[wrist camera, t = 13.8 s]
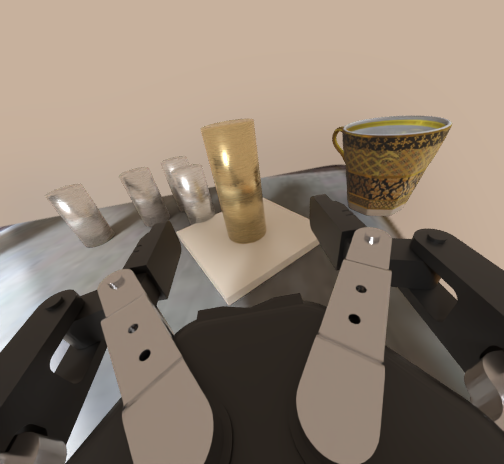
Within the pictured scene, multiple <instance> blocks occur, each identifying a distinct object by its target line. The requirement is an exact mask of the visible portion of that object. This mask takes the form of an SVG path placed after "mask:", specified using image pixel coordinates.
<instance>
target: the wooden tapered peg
mask: <svg viewBox="0 0 504 464" xmlns="http://www.w3.org/2000/svg"><path fill="white" fill-rule="evenodd" d="M201 132H202V136H203V140H204V144H205V148H206V151H207V156H208V159H209V163H210V167H211V171H212V175H213V179H214V183H215V186H216V190H217V194H218V198H219V202H220V206H221V210H222V213H223V217H224V221H225V225H226V229H227V233H228V236H229V239H230V240H231V241H233V242H235V243H239V244H248V243H253V242H255V241H258V240H259V239H261V238H262V237H263V236H264V235H265V233H266V222H265V213H264V205H263V196H262V188H261V179H260V171H259V162H258V155H257V145H256V138H255V128H254V121H253V119H238V120H230V121H224V122H219V123H214V124H211V125H207V126H204V127H202V128H201Z"/></svg>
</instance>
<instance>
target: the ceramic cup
mask: <svg viewBox="0 0 504 464" xmlns="http://www.w3.org/2000/svg"><path fill="white" fill-rule="evenodd" d="M451 126H452V122H451V121H449V120H447V119H444V118H439V117H432V116H431V117H430V116H391V117H381V118H373V119H366V120H361V121H357V122H353V123H350V124H348V125H346V126H345V127H339V128H337V129H336V130H335V131H334V133H333V137H332V139H333V140H332V141H333V144H334V146H335V148H336V149H337V151H338V152H339V153H340V154H341V156H342V157H343V160H344V162H345V164H346V177H347V200H348V205H349V208H351V209H353V210H355V211H357V212H360V213H362V214H364V215H368V216H391V215H393V214H395V213H396V212H398V211H400V210H401V209H402V208H403V207H404V205H405V204H406V202H407V201H408V199H409V197H410V195H411V193H412V192H413V190H414V189H415V187H416V185H417V184H418V182H419V180H420V178H421V177H422V175H423V173H424V171H425V170H426V168H427V167H428V165H429V164H430V162H431V161H432V159H433V158H434V156H435V155H436V153H437V151H438V150H439V148H440V146H441V145H442V143H443V141H444V139H445V138H446V136H447V134H448V132H449V130H450V128H451ZM339 131H341V132H342V133H343V150H344V151H343V150H342V149H341V148H340V147H339V145H338V143H337V141H336V136H337V134H338V132H339Z"/></svg>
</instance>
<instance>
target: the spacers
mask: <svg viewBox="0 0 504 464" xmlns="http://www.w3.org/2000/svg"><path fill="white" fill-rule="evenodd" d="M161 166H162V168H163V171H164V173H165V176H166V178H167V181H168V183H169V186H170V188H171V191H172V193H173V196H174V198H175V201H176V203H177V206H178V208H179V210H180V211H181V212H186V214H187V217H188V219H189V222H190V225H193V224H195V223H202V222H205V221H208V220H210V219H211V218H212V217H213V216H214V215H215V210H214V207H213V203H212V200H211V196H210V193H209V189H208V186H207V182H206V179H205V176H204V171H203V168H202V165H199V164H191V165H189V162H188V159H187V157H185V156H179V157H173V158H170V159H167V160H164V161H162V162H161ZM119 178H120V179H121V181H122V183H123V185H124V187H125V189H126V190H127V192H128V194H129V196H130V198H131V200H132V202H133V203H134V205H135V207H136V209H137V211H138V213H139V215H140V216H141V218H142V220H143V222H144V224H145V225H146V226H148V227H153V225H154V224H155V223H159V222H165V221H167V220H168V219H169V218H170V215H169V213H168V210H167V208H166V206H165V204H164V201H163V199H162V197H161V195H160V193H159V190H158V188H157V186H156V183H155V181H154V179H153V177H152V174H151V172H150V170H149V168H148V167H141V168H136V169H132V170H129V171H126V172H124V173H122V174H120V175H119ZM45 197H46V198H47V200H48V201H49V202H50V203H51V204H52V206H53V207H54V208H55V209H56V211H57V212H58V213H59V214H60V216H61V217H62V218H63V219H64V221H65V222H66V223H67V224H68V225H69V227H70V228H71V229H72V230H73V232H74V233H75V234H76V235H77V237H78V238H79V239H80V240H81V241H82V243H83V244H84V245H85V246H86V247H96V246H99V245H101V244H103V243H105V242H107V241H109V240H110V239H111V238H112V237H113V236H114V232H113V230H112V229H111V227H110V226H109V224H108V223H107V221H106V220H105V218H104V217H103V215H102V214H101V212H100V211H99V209H98V208H97V206H96V205H95V203H94V202H93V200H92V199H91V197H90V196H89V194H88V193H87V191H86V190H85V188H84V187H83V186H82V184H73V185H69V186H65V187H62V188H59V189H56V190H54V191H52V192H49V193H48V194H47V195H45Z"/></svg>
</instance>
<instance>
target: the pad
mask: <svg viewBox="0 0 504 464" xmlns="http://www.w3.org/2000/svg"><path fill="white" fill-rule="evenodd" d="M263 205H264V213H265V222H266V233H265V235H264V236H263V237H262V238H261V239H259V240H258V241H255V242H253V243H248V244H239V243H235V242H233V241H231V240H230V239H229V236H228V233H227V229H226V225H225V221H224V217H223V213H222V212H220V213H218V214H215V215H214V216H213V217H212V218H211V219H210V220H208V221H205V222H202V223H195V224H193V225H191V226H189V227H186V228H184V229H182V230H180V231H177V232H176V233H177V235H178V237H179V239H180V240H181V242H182V243H183V244H184V246H185V247H186V248H187V250H188V251H189V252H190V254H191V255H192V257H193V258H194V259H195V261H196V262H197V263H198V265H199V266H200V267H201V269H202V270H203V271H204V273H205V274H206V275H207V277H208V278H209V280H210V281H211V282H212V284H213V285H214V286H215V288H216V289H217V290H218V292H219V293H220V294H221V296H222V297H223V298H224V300H225V301H226V303H227V304H228V305H231V304H232V303H234V302H235V301H237V300H238V299H240V298H241V297H243V296H244V295H245V294H247V293H248V292H250V291H251V290H253V289H254V288H256V287H257V286H259V285H260V284H262V283H263V282H265V281H266V280H267V279H269V278H270V277H272V276H273V275H275V274H276V273H278V272H279V271H281V270H282V269H284V268H285V267H287V266H288V265H289V264H291V263H292V262H294V261H295V260H297V259H298V258H300V257H301V256H303V255H304V254H306V253H307V252H309V251H310V250H312V249H313V248H314V247H316V246H317V245H319V244H320V243H319V241H318V240H317V238H316V236H315V235H314V233H313V232H312V230H311V227H310V219H307V218H305V217H303V216H301V215H299V214H297V213H295V212H293V211H290V210H288V209H286V208H284V207H282V206H280V205H278V204H276V203H273V202H271V201H269V200H267V199H265V198H263Z"/></svg>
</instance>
